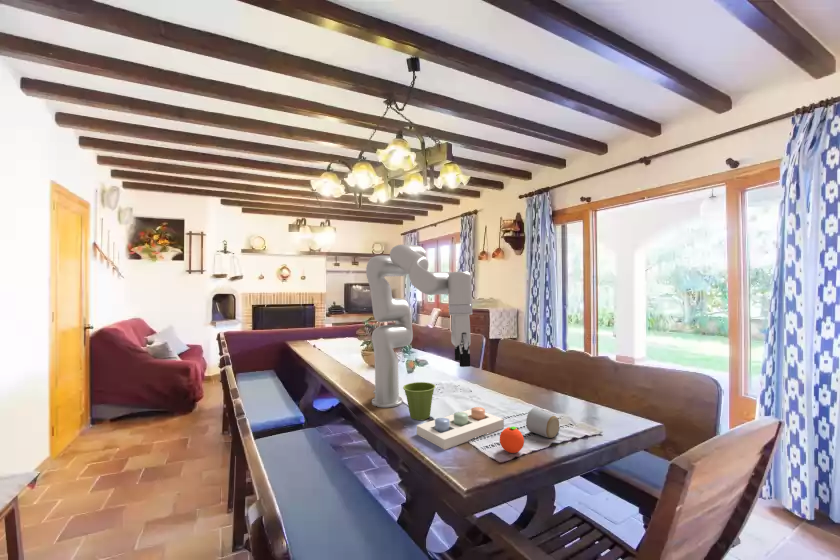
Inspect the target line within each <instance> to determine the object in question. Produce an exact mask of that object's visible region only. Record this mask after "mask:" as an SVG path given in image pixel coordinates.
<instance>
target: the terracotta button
mask: <svg viewBox="0 0 840 560" xmlns="http://www.w3.org/2000/svg"><path fill="white" fill-rule="evenodd" d="M470 409H471V418H472V419H475V420H477V421H480V420H483V419H485V412H486V409H485V408H484V407H481V406H476V407H475V406H474V407H472V408H470Z"/></svg>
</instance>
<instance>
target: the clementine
mask: <svg viewBox="0 0 840 560" xmlns="http://www.w3.org/2000/svg"><path fill="white" fill-rule="evenodd" d="M499 443H500V446H501V448H502V449H503V450H504V451H506V453H509V454H510V453H511V454H517V453H518V452H520V451H521V450H522V449H523V447H524V443H525V437H524V436H523V434H522V432H521V431H520V429H519V428H518V427H517V426H509V427H506V428H503V430H502V431H501V433H500V435H499Z"/></svg>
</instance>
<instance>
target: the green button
mask: <svg viewBox="0 0 840 560" xmlns="http://www.w3.org/2000/svg"><path fill="white" fill-rule="evenodd" d="M453 414H454V424H455V425H457V426H460V427H462V426H465V425H468V414H467V413H464V412H463V411H460V412H459V411H458V412H455V413H453Z"/></svg>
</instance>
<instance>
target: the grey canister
mask: <svg viewBox="0 0 840 560" xmlns="http://www.w3.org/2000/svg"><path fill="white" fill-rule="evenodd" d="M525 419H526V420H525V425H526V429H527V431H529V432H531V433H534V434H536V435H539V436H543V437H545V438H548V439H551V438H554V437H555V436H557V434H558V432H559V431H560V429H561V427H560V422H559V421H560V420H559V418H558V416H556V415H554V414H552V413H549V412H547V411H545V410H543V409H539V408H537V407H533V408H531V409H530V410H529V411H528V414H527V415H526V418H525Z"/></svg>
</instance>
